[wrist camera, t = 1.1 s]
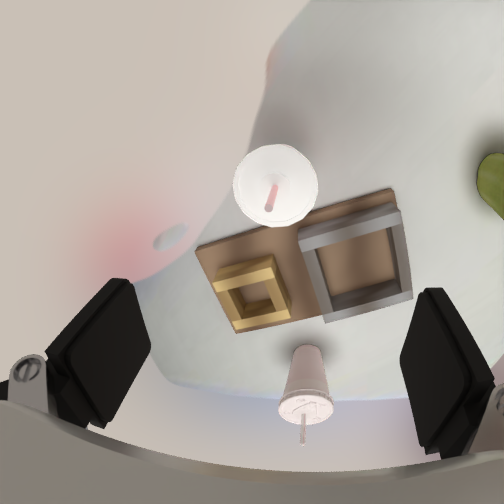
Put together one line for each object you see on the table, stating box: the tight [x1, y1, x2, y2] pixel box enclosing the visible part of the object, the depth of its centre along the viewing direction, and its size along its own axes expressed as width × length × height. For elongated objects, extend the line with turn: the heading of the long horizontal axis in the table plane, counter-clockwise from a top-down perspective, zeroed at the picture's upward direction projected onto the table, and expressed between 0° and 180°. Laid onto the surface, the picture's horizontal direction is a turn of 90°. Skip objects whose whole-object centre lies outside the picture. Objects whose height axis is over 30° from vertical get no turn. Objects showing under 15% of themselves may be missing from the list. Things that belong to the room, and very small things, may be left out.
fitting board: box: [195, 188, 413, 334], centre depth 32 cm, size 22×12×4 cm, turn 111°
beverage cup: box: [233, 144, 318, 227], centre depth 23 cm, size 6×6×14 cm
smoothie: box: [278, 344, 334, 446], centre depth 33 cm, size 6×6×14 cm
